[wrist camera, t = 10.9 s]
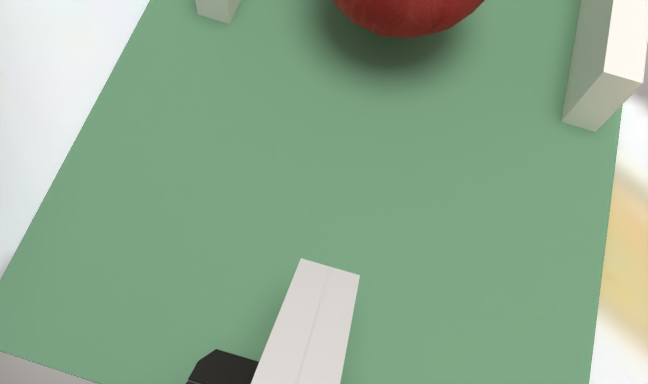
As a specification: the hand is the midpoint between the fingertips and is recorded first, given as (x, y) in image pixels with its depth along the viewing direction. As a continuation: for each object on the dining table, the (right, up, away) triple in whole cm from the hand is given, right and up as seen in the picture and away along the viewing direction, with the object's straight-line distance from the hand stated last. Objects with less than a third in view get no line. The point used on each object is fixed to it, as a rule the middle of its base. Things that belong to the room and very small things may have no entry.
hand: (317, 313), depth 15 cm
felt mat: (+2, +6, +6) cm, 9 cm away
